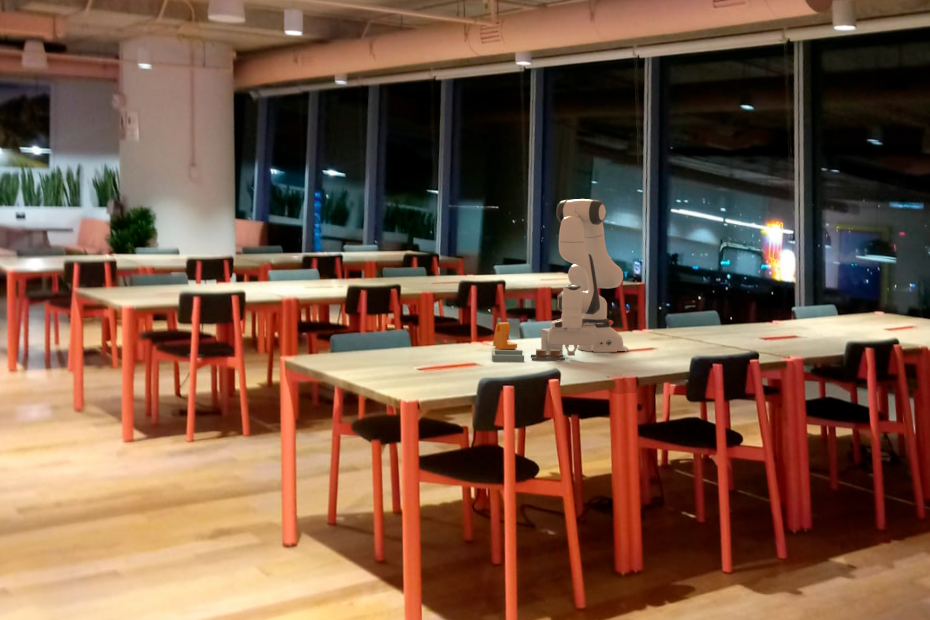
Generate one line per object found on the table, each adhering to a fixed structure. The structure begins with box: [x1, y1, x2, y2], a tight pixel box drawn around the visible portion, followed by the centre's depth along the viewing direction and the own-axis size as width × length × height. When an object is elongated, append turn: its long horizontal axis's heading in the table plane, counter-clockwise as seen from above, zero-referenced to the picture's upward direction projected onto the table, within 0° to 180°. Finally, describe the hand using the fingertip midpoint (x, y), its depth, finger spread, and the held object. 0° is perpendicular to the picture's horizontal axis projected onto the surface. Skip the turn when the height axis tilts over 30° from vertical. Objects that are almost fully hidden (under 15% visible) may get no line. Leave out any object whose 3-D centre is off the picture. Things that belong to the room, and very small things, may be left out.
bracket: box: [492, 321, 518, 350], centre depth 463 cm, size 11×7×12 cm, turn 24°
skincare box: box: [540, 327, 564, 355], centre depth 452 cm, size 10×6×10 cm, turn 18°
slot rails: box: [530, 354, 566, 362], centre depth 435 cm, size 14×8×1 cm, turn 90°
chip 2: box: [550, 349, 560, 357], centre depth 435 cm, size 4×4×4 cm
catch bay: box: [491, 349, 525, 362], centre depth 435 cm, size 13×14×2 cm
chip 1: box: [535, 348, 547, 357], centre depth 435 cm, size 4×4×4 cm
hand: (571, 355), depth 435 cm, fingers closed
